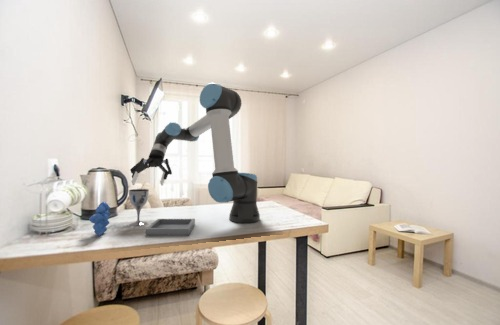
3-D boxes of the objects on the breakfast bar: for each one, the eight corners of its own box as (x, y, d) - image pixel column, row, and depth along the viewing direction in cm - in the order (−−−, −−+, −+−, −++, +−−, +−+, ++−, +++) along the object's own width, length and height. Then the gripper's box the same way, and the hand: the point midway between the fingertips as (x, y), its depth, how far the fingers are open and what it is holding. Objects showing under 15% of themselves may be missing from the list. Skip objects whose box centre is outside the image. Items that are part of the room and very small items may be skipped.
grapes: (94, 229, 91) (95, 200, 91) (113, 228, 93) (114, 199, 93) (81, 239, 80) (82, 205, 80) (103, 238, 82) (104, 205, 82)
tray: (194, 224, 102) (194, 218, 102) (188, 235, 87) (188, 228, 87) (158, 224, 100) (158, 218, 100) (145, 235, 85) (145, 229, 85)
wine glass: (140, 226, 96) (140, 191, 96) (123, 225, 98) (124, 190, 98) (151, 222, 104) (152, 189, 104) (136, 220, 106) (137, 188, 106)
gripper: (181, 159, 130) (174, 188, 115) (136, 158, 128) (123, 187, 113) (179, 149, 125) (172, 179, 110) (132, 148, 122) (118, 178, 107)
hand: (147, 183), depth 111 cm, fingers open, 13 cm apart
